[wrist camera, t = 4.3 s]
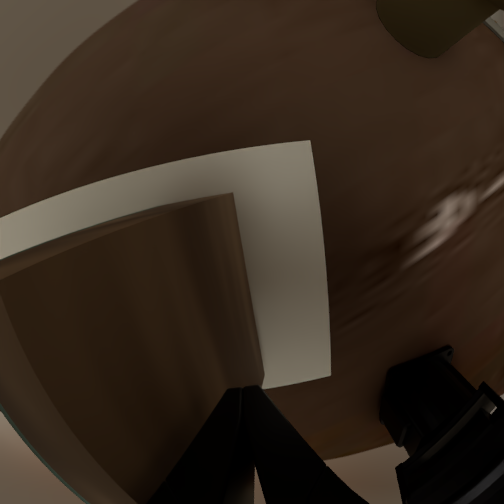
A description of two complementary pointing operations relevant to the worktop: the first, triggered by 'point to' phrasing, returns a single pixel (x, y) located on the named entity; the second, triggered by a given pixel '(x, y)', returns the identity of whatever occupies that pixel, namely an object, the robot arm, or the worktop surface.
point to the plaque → (126, 343)
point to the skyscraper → (496, 23)
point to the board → (251, 231)
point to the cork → (433, 22)
